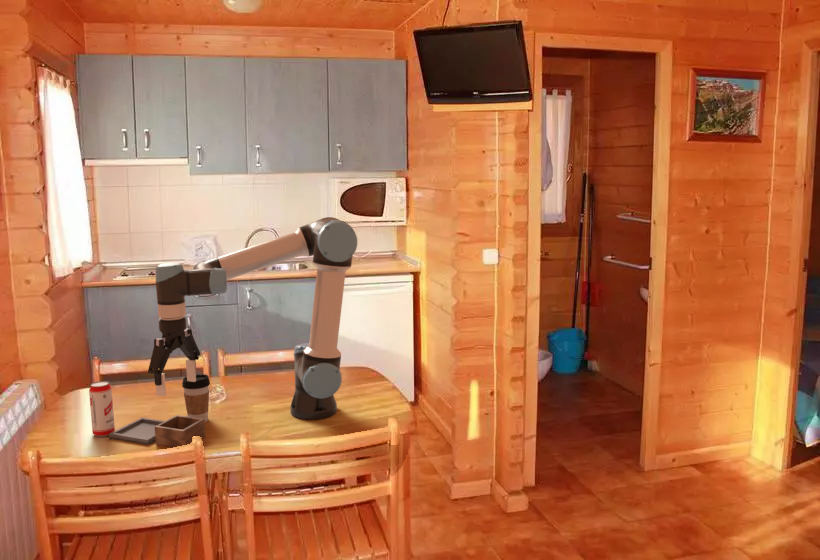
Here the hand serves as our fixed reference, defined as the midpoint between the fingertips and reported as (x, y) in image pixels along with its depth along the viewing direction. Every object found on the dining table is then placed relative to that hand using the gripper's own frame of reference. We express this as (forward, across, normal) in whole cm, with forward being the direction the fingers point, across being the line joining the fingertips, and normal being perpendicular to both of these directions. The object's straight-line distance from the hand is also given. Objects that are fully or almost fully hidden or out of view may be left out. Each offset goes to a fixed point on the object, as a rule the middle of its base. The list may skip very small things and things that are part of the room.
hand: (176, 388), depth 212 cm
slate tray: (+16, -1, -14) cm, 21 cm away
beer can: (+17, +3, -26) cm, 31 cm away
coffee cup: (+17, -15, -5) cm, 23 cm away
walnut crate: (+17, 0, 0) cm, 17 cm away
